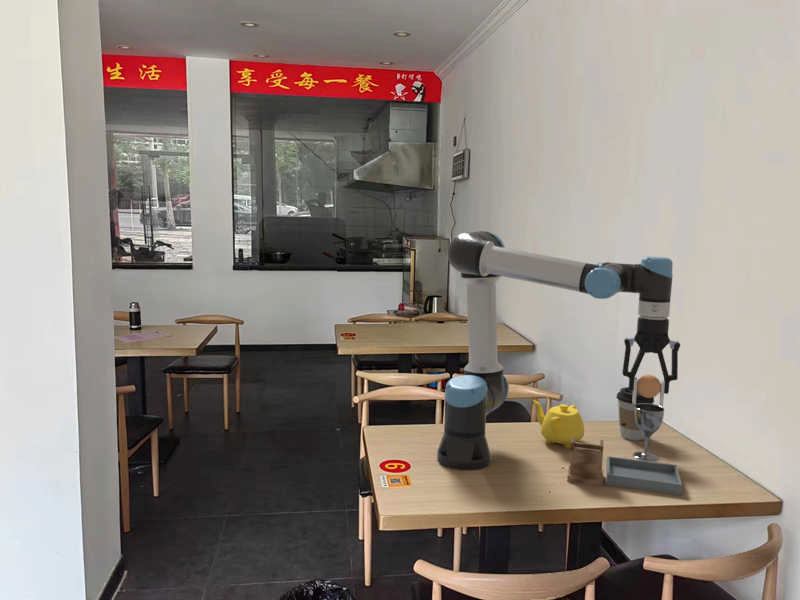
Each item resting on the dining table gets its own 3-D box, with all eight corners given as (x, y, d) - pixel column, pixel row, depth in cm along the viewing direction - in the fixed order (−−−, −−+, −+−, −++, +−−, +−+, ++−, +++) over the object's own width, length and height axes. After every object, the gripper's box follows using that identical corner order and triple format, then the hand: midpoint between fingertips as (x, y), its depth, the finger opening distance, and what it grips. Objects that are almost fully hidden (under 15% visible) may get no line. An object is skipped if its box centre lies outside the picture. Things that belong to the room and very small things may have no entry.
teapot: (571, 432, 202) (573, 396, 200) (592, 448, 188) (595, 411, 186) (530, 434, 199) (532, 398, 198) (549, 451, 186) (551, 413, 184)
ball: (635, 392, 167) (636, 371, 166) (659, 395, 165) (660, 373, 164) (636, 399, 161) (637, 376, 161) (661, 401, 160) (662, 379, 159)
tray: (606, 484, 164) (607, 474, 163) (606, 465, 176) (607, 456, 175) (681, 495, 158) (682, 484, 158) (675, 474, 170) (676, 465, 170)
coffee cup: (607, 430, 204) (610, 386, 202) (640, 429, 205) (643, 385, 203) (623, 443, 193) (627, 396, 190) (658, 442, 194) (662, 396, 192)
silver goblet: (662, 463, 178) (666, 412, 176) (633, 460, 180) (637, 410, 178) (657, 452, 186) (661, 404, 184) (629, 450, 188) (632, 402, 185)
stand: (567, 481, 165) (569, 443, 164) (568, 470, 172) (570, 434, 170) (602, 486, 162) (605, 448, 161) (602, 475, 169) (605, 439, 168)
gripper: (614, 317, 160) (609, 404, 163) (695, 321, 154) (688, 411, 157) (614, 312, 167) (609, 396, 170) (691, 317, 161) (684, 403, 164)
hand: (647, 403), depth 164 cm, fingers closed on ball, 6 cm apart
